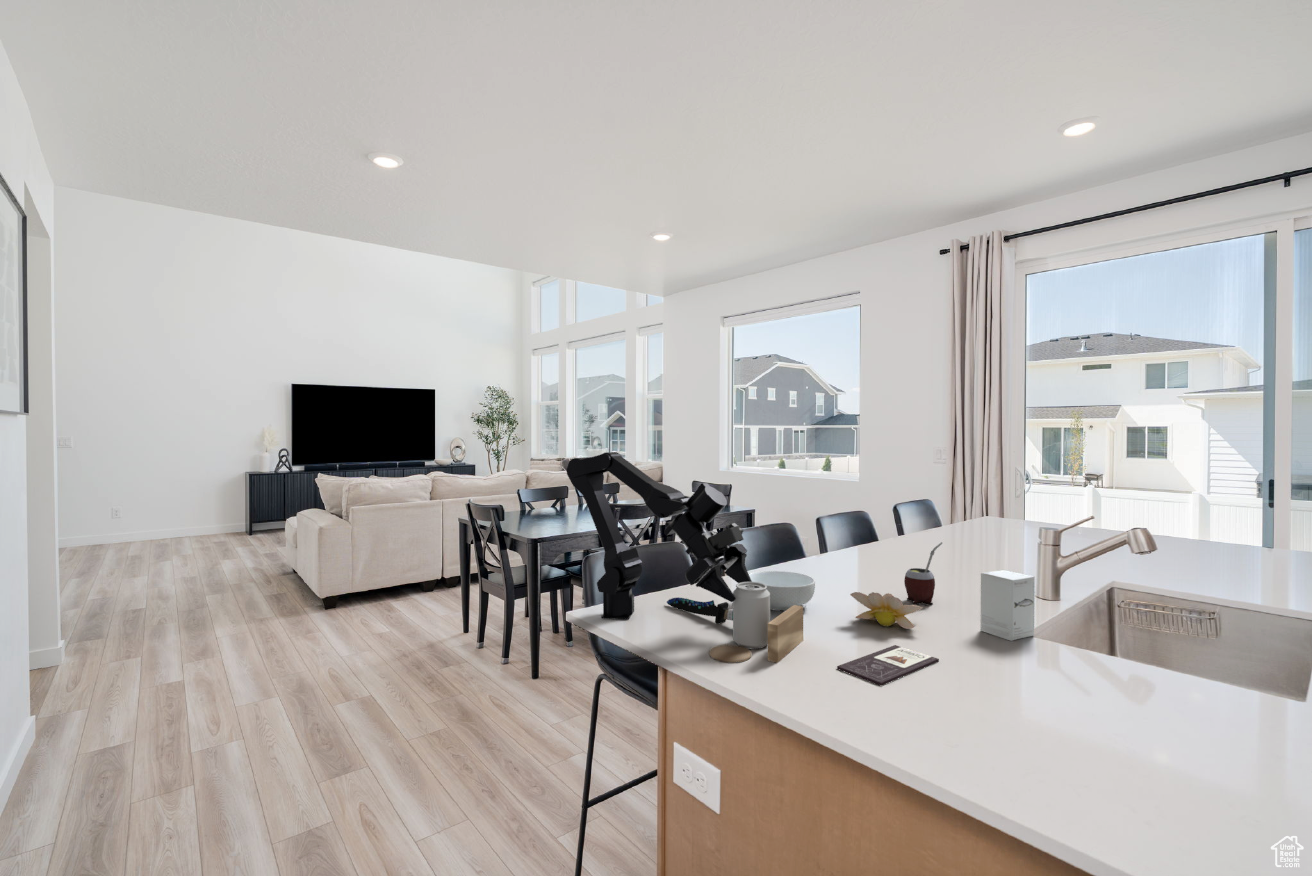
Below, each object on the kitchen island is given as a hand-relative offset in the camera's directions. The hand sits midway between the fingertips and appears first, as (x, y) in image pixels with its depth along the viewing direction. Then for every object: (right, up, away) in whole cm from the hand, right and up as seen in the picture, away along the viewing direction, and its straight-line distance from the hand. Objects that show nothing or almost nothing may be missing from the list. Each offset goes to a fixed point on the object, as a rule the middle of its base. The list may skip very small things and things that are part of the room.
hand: (743, 595), depth 123 cm
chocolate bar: (+25, -10, -13) cm, 30 cm away
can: (+1, -10, -1) cm, 10 cm away
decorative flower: (+34, -9, +10) cm, 37 cm away
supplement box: (+56, -9, +4) cm, 57 cm away
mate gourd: (+48, -9, +27) cm, 56 cm away
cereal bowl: (+13, -9, +25) cm, 29 cm away
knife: (-5, -10, +15) cm, 18 cm away
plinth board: (+8, -9, -5) cm, 13 cm away
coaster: (-4, -10, -7) cm, 12 cm away
